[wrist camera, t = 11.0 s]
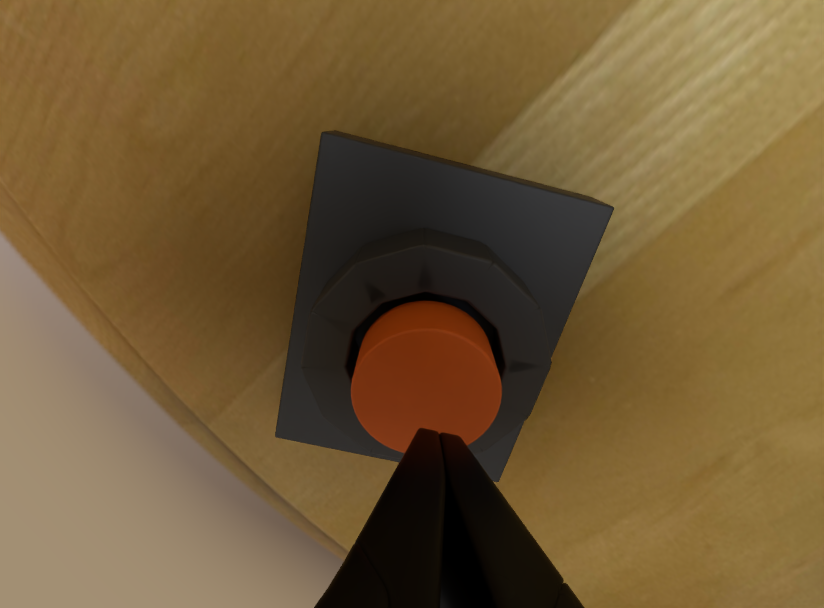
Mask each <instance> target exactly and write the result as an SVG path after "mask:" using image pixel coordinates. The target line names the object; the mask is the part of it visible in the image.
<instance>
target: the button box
mask: <svg viewBox="0 0 824 608" xmlns="http://www.w3.org/2000/svg"><path fill="white" fill-rule="evenodd" d="M613 210H614V207H612V206H610V205H608V204H606V203H603V202H601V201H599V200H597V199H594V198H592V197H589V196H585V195H581V194H577V193H574V192H570V191H566V190H562V189H558V188H554V187H550V186H547V185H543V184H539V183H535V182H531V181H527V180H524V179H520V178H516V177H512V176H508V175H504V174H501V173H497V172H493V171H489V170H485V169H481V168H477V167H474V166H470V165H466V164H462V163H458V162H454V161H451V160H447V159H443V158H439V157H435V156H431V155H427V154H424V153H420V152H416V151H412V150H408V149H404V148H401V147H397V146H393V145H389V144H385V143H381V142H378V141H374V140H370V139H366V138H362V137H358V136H354V135H351V134H347V133H343V132H339V131H326V132H322V133H321V138H320V145H319V151H318V158H317V164H316V171H315V177H314V184H313V190H312V197H311V204H310V210H309V217H308V223H307V230H306V236H305V243H304V249H303V256H302V262H301V269H300V276H299V282H298V289H297V295H296V302H295V308H294V315H293V321H292V328H291V334H290V341H289V348H288V354H287V361H286V367H285V374H284V380H283V387H282V393H281V400H280V406H279V413H278V420H277V426H276V433H275V437H277V438H282V439H287V440H292V441H297V442H302V443H307V444H312V445H317V446H322V447H327V448H331V449H336V450H341V451H346V452H351V453H356V454H361V455H366V456H371V457H376V458H381V459H386V460H391V461H395V462H400V461H401V459H402V457H403V455H404V454H405V453H402V452H399V451H396V450H393V449H391V448H389V447H387V446H385V445H383V444H382V443H380V442H379V441H377V440H376V439H375V438H373V437H372V436H371V435H370V434H369V433H368V432H367V431H366V430H365V429H364V427H363V426H362V424H361V423H360V422H359V420H358V418H357V416H356V414H355V411H354V408H353V405H352V400H351V383H352V377H353V374H354V370H355V366H356V362H357V358H358V355H359V351H360V347H361V344H362V340H363V338H364V336H365V334H366V332H367V331H368V329H369V328H370V326H371V325H372V324H373V323H374V322H375V320H376V319H378V318H379V317H380V316H381V315H382V314H384V313H385V312H387V311H388V310H390V309H392V308H394V307H396V306H399V305H402V304H405V303H409V302H414V301H424V300H425V301H437V302H443V303H446V304H450V305H452V306H455V307H457V308H459V309H461V310H463V311H464V312H466V313H467V314H469V315H470V316H471V317H472V318H474V319H475V320H476V321H477V323H478V324H479V325H480V326H481V328H482V329H483V330H484V332H485V334H486V336H487V338H488V341H489V344H490V347H491V350H492V353H493V356H494V359H495V363H496V366H497V369H498V372H499V375H500V379H501V385H502V397H501V404H500V407H499V410H498V413H497V415H496V417H495V419H494V421H493V422H492V424H491V425H490V427H489V428H488V429H487V430H486V431H485V433H484V434H483V435H481V436H480V437H479V438H478V439H477V440H475V441H474V442H472V443H471V444H469V445H467V447H468V448H469V449H470V451H471V452H472V453H473V455H474V456H475V458H476V459H477V460H478V462H479V463H480V464H481V466H482V467H483V469H484V470H485V471H486V473H487V474H488V476H489V477H490V478H491V480H492V481H494V482H499V480H500V478H501V475H502V473H503V470H504V468H505V466H506V463H507V461H508V459H509V456H510V454H511V451H512V449H513V447H514V444H515V442H516V440H517V437H518V435H519V433H520V430H521V428H522V425H523V423H524V421H525V420H526V419H527V418H528V416H530V414H531V412H532V410H533V407H534V405H535V402H536V400H537V398H538V395H539V393H540V391H541V388H542V386H543V384H544V381H545V379H546V377H547V374H548V372H549V370H550V365H551V363H552V362H551V357H552V354H553V352H554V350H555V347H556V345H557V343H558V340H559V338H560V335H561V333H562V331H563V328H564V326H565V324H566V321H567V319H568V317H569V314H570V312H571V309H572V307H573V305H574V302H575V300H576V298H577V295H578V293H579V291H580V288H581V286H582V283H583V281H584V279H585V276H586V274H587V272H588V269H589V267H590V264H591V262H592V260H593V257H594V255H595V253H596V250H597V248H598V246H599V243H600V241H601V238H602V236H603V234H604V231H605V229H606V227H607V224H608V222H609V219H610V217H611V215H612V212H613Z"/></svg>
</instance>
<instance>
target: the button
mask: <svg viewBox="0 0 824 608" xmlns="http://www.w3.org/2000/svg"><path fill="white" fill-rule="evenodd" d="M501 397H502V385H501V379H500V375H499V372H498V369H497V366H496V363H495V359H494V356H493V353H492V350H491V347H490V344H489V341H488V338H487V336H486V334H485V332H484V330H483V329H482V328H481V326H480V325H479V324H478V323H477V321H476V320H475V319H474V318H472V317H471V316H470V315H469V314H467V313H466V312H464V311H463V310H461V309H459V308H457V307H455V306H452V305H450V304H446V303H443V302H437V301H425V300H424V301H414V302H409V303H405V304H402V305H399V306H396V307H394V308H392V309H390V310H388V311H387V312H385V313H384V314H382V315H381V316H380V317H379V318H378V319H376V320H375V322H374V323H373V324H372V325H371V326H370V328H369V329H368V331H367V332H366V334H365V336H364V338H363V340H362V344H361V347H360V351H359V355H358V358H357V362H356V366H355V370H354V374H353V377H352V383H351V400H352V405H353V408H354V411H355V414H356V416H357V418H358V420H359V422H360V423H361V424H362V426H363V427H364V429H365V430H366V431H367V432H368V433H369V434H370V435H371V436H372V437H373V438H375V439H376V440H377V441H379V442H380V443H382V444H383V445H385V446H387V447H389V448H391V449H393V450H396V451H399V452H402V453H405V452H406V450H407V448H408V447H409V445H410V443H411V441H412V439H413V438H414V436H415V434H416V432H417V430H418V429H419V428H426V429H430V430H435V431H437V432H438V433H439V434H440V433H441V432H445V433H449V434H454V435H458V436H460V437H461V438H462V440H463V441H464V442H465V444H466V445H469V444H471V443H472V442H474V441H475V440H477V439H478V438H479V437H480V436H481V435H483V434H484V433H485V431H486V430H487V429H488V428H489V427H490V425H491V424H492V422H493V421H494V419H495V417H496V415H497V413H498V410H499V407H500V404H501Z"/></svg>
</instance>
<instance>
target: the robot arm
mask: <svg viewBox="0 0 824 608" xmlns="http://www.w3.org/2000/svg"><path fill="white" fill-rule="evenodd" d="M563 581H564V580H563V578H562V576H561V575H560V574H559V572H558V571H557V569H556V568H555V567H554V565H553V564H552V562H551V561H550V560H549V558H548V557H547V556H546V554H545V553H544V551H543V550H542V549H541V547H540V546H539V545H538V543H537V542H536V540H535V539H534V538H533V536H532V535H531V534H530V532H529V531H528V529H527V528H526V527H525V525H524V524H523V522H522V521H521V520H520V518H519V517H518V516H517V514H516V513H515V511H514V510H513V509H512V507H511V506H510V505H509V503H508V502H507V500H506V499H505V498H504V496H503V495H502V493H501V492H500V491H499V489H498V488H497V487H496V485H495V484H494V482H493V481H492V480H491V478H490V477H489V476H488V474H487V473H486V471H485V470H484V469H483V467H482V466H481V464H480V463H479V462H478V460H477V459H476V458H475V456H474V455H473V453H472V452H471V451H470V449H469V448H468V447H467V445H466V444H465V442H464V441H463V440H462V438H461V437H460V436H458V435H454V434H449V433H445V432H441V433H440V434H439V433H438V432H437V431H435V430H430V429H426V428H419V429H418V430H417V432H416V434H415V436H414V438H413V439H412V441H411V443H410V445H409V447H408V448H407V450H406V452H405V454H404V455H403V457H402V459H401V461H400V463H399V464H398V466H397V468H396V470H395V472H394V473H393V475H392V477H391V479H390V481H389V482H388V484H387V486H386V488H385V490H384V491H383V493H382V495H381V497H380V498H379V500H378V502H377V504H376V506H375V507H374V509H373V511H372V513H371V515H370V516H369V518H368V520H367V522H366V524H365V525H364V527H363V529H362V531H361V533H360V534H359V536H358V538H357V540H356V542H355V544H354V545H353V546H352V548H351V550H350V552H349V553H348V555H347V557H346V559H345V561H344V562H343V564H342V566H341V567H340V569H339V571H338V572H337V574H336V576H335V577H334V579H333V580H332V582H331V584H330V586H329V587H328V589H327V590H326V592H325V593H324V594H323V596H322V597H321V598H320V600H319V601H318V603H317V604H316V606H315V607H314V608H584V606H583V605H582V604H581V602H580V601H579V599H578V598H577V597H576V595H575V594H574V593H573V591H572V590H571V588H570V587H569V586H568V584H566V583H563Z"/></svg>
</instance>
